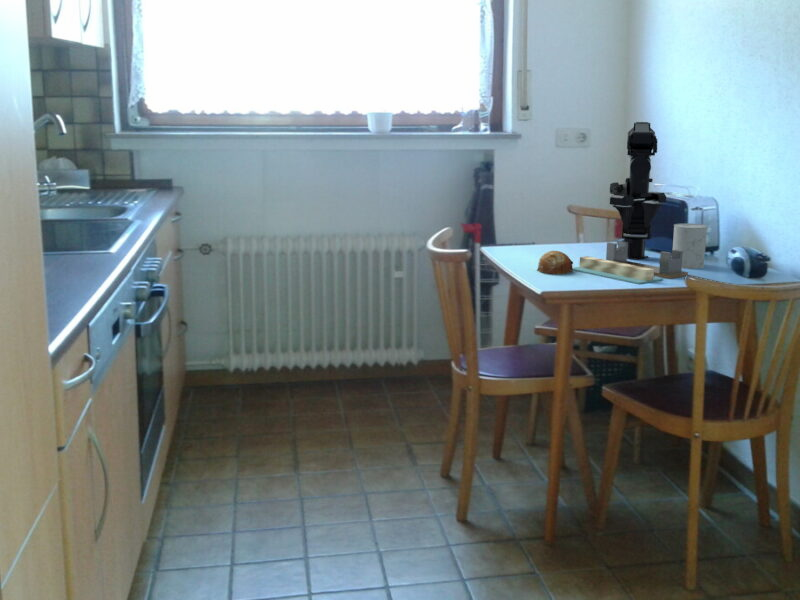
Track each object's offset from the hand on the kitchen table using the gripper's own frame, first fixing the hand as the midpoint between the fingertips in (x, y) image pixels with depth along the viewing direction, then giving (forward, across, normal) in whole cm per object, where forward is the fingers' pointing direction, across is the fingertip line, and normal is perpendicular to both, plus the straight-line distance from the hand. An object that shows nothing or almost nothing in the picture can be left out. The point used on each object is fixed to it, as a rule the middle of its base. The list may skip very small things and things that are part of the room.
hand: (636, 227), depth 261 cm
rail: (+12, +13, +4) cm, 18 cm away
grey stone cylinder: (+12, -16, +7) cm, 21 cm away
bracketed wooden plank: (+12, +1, +4) cm, 13 cm away
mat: (+12, +13, +4) cm, 18 cm away
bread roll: (+12, +23, -10) cm, 28 cm away
